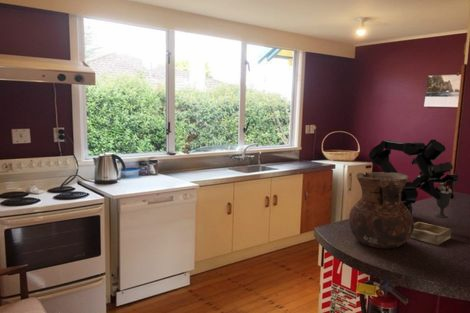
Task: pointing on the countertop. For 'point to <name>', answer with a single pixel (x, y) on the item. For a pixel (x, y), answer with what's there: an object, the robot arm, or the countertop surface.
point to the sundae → (443, 198)
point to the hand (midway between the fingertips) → (445, 198)
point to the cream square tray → (430, 233)
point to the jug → (381, 211)
